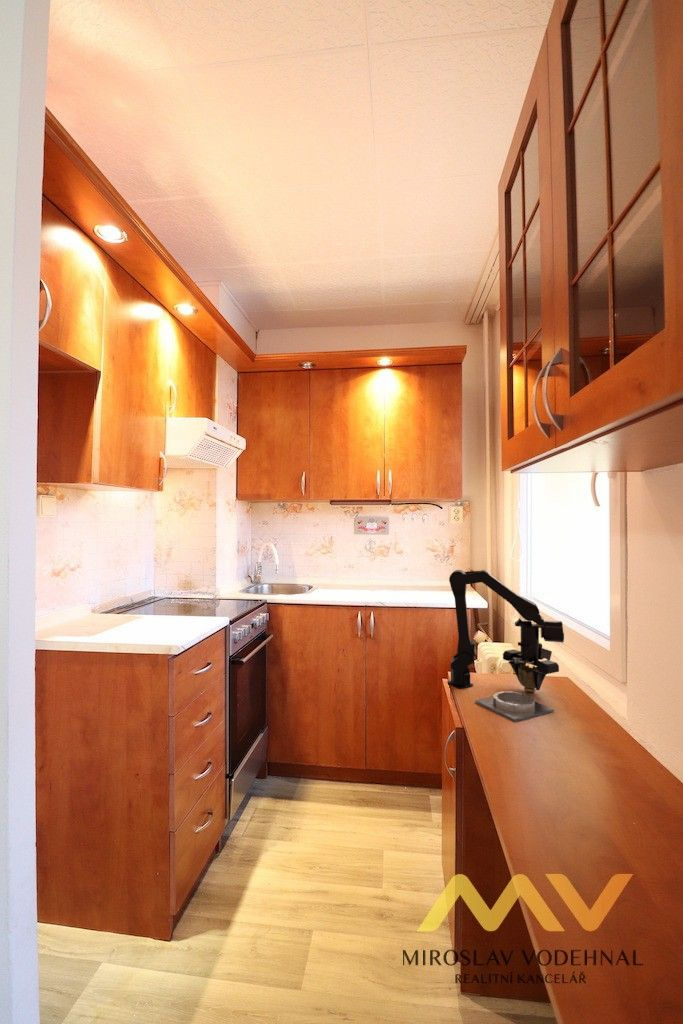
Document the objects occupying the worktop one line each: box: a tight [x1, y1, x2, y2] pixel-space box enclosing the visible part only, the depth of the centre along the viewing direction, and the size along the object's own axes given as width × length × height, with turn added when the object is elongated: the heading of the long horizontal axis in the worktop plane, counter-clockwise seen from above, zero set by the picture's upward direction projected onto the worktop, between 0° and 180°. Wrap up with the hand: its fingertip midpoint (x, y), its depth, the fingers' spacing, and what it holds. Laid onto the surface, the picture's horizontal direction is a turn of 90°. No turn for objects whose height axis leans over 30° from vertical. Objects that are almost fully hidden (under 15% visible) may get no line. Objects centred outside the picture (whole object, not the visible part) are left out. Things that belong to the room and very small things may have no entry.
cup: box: [518, 664, 537, 694], centre depth 159 cm, size 8×7×8 cm
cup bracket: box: [474, 690, 555, 723], centre depth 146 cm, size 16×16×3 cm
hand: (529, 686), depth 159 cm, fingers closed on cup, 6 cm apart
